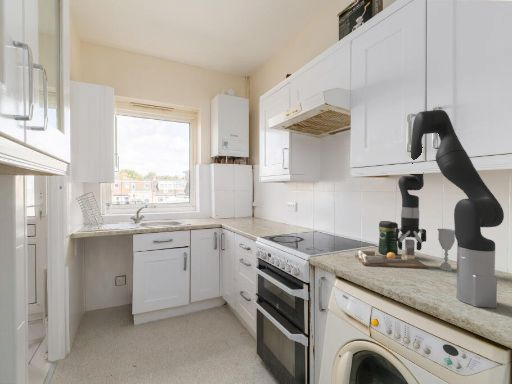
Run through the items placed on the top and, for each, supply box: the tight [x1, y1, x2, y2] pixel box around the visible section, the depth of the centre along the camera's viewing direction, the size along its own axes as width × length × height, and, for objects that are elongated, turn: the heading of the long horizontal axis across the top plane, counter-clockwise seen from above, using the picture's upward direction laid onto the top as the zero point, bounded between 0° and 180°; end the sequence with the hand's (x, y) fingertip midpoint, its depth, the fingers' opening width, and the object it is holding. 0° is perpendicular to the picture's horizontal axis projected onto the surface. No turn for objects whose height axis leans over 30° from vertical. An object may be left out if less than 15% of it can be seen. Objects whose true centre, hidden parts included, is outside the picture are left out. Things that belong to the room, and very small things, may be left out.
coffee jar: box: [377, 220, 399, 256], centre depth 140 cm, size 10×8×19 cm
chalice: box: [437, 228, 456, 272], centre depth 114 cm, size 7×7×18 cm
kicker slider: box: [401, 238, 416, 260], centre depth 122 cm, size 5×4×10 cm
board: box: [355, 249, 429, 270], centre depth 124 cm, size 16×28×4 cm, turn 83°
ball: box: [387, 252, 397, 259], centre depth 123 cm, size 4×4×4 cm
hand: (409, 249), depth 123 cm, fingers open, 8 cm apart
